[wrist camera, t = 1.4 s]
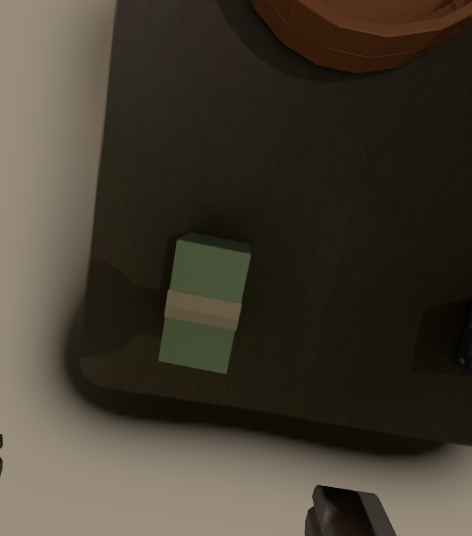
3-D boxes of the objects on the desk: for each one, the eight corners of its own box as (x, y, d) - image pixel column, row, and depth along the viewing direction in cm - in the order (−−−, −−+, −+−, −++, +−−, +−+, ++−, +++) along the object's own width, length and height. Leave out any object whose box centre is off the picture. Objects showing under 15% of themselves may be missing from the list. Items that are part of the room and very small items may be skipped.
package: (173, 332, 27) (157, 361, 22) (189, 231, 25) (175, 239, 20) (230, 343, 27) (226, 374, 22) (250, 243, 25) (252, 254, 20)
